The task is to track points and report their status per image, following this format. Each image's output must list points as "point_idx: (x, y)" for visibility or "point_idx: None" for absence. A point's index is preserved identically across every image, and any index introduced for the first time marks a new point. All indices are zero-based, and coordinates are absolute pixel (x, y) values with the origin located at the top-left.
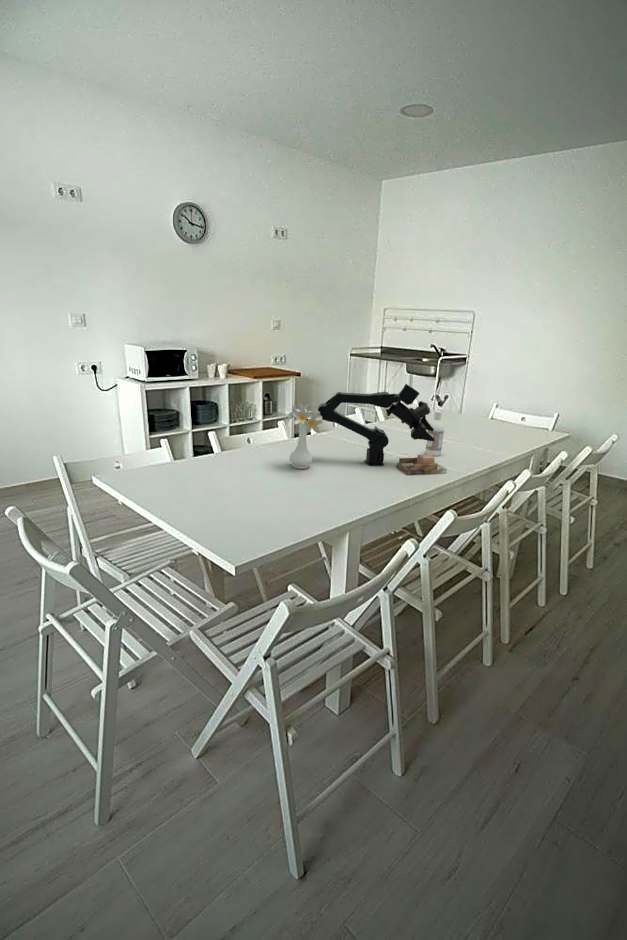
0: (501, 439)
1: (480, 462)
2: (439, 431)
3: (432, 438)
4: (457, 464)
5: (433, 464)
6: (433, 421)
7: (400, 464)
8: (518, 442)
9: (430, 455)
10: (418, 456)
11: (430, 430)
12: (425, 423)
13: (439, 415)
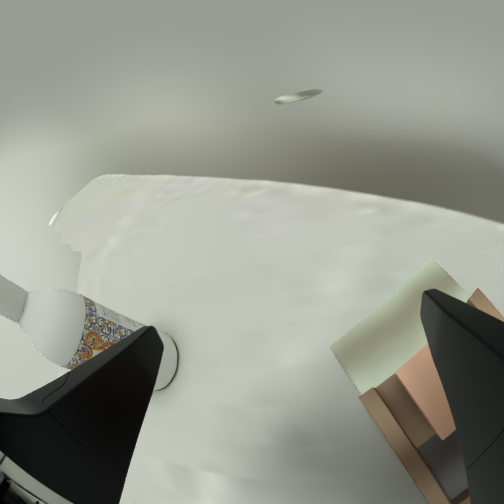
0: (79, 226)
1: (215, 204)
2: (85, 312)
3: (458, 306)
4: (263, 258)
5: (496, 309)
6: (30, 330)
7: (468, 500)
8: (94, 201)
9: (420, 351)
10: (454, 428)
11: (156, 365)
12: (80, 423)
13: (8, 287)
